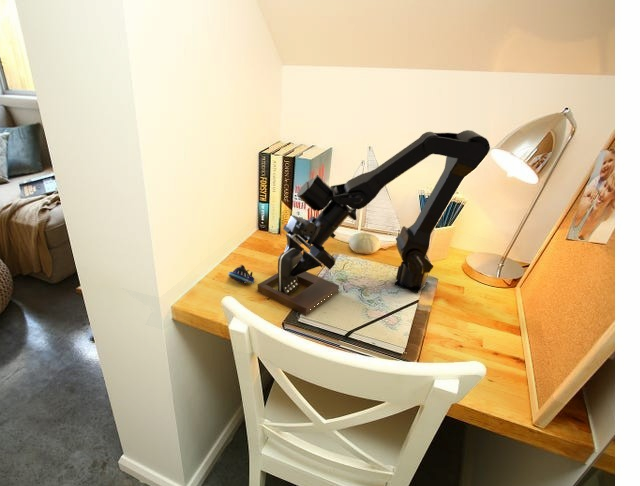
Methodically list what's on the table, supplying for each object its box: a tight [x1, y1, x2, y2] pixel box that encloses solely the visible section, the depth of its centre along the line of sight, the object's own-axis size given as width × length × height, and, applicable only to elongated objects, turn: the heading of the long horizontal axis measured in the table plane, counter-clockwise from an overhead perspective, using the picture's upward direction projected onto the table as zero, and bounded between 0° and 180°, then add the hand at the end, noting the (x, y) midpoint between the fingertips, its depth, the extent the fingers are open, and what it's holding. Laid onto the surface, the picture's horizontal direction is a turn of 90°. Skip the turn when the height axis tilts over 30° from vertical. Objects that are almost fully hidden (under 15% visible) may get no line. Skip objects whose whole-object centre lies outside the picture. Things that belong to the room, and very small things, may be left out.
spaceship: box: [227, 264, 255, 285], centre depth 110 cm, size 7×6×5 cm
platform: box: [257, 271, 340, 317], centre depth 104 cm, size 16×14×2 cm
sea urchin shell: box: [348, 232, 381, 255], centre depth 123 cm, size 9×8×8 cm
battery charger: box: [277, 248, 303, 296], centre depth 103 cm, size 7×4×11 cm, turn 140°
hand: (285, 270), depth 102 cm, fingers closed on battery charger, 6 cm apart
